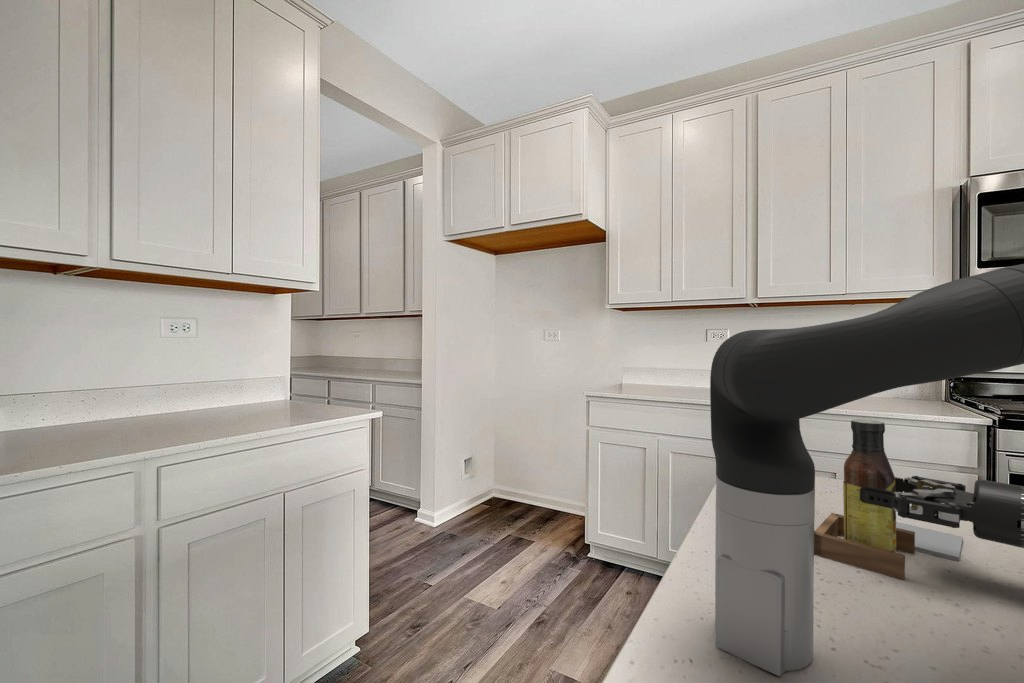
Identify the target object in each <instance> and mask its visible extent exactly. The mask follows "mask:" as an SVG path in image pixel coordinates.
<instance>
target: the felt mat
mask: <svg viewBox="0 0 1024 683" xmlns="http://www.w3.org/2000/svg"><path fill="white" fill-rule="evenodd" d="M896 528H900V529H904V530H908V531H913V532H915V552H919V553H924V554H927V555H932V556H936V557H939V558H944V559H947V560H951V561H955V562H960V557H961V553H962V547H963V539H964V536H961V535H956V534H952V533H948V532H945V531H944V532H943V531H940V530H939V531H938V530H935V529H930V528H926V527H921V526H917V525H912V524H907V523H905V522H904V523H903V522H900V521H899V522H897V521H896Z"/></svg>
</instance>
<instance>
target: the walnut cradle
mask: <svg viewBox="0 0 1024 683" xmlns="http://www.w3.org/2000/svg"><path fill="white" fill-rule="evenodd" d="M838 536H841V537H844V514H840V513H838V514H837V513H835V512H831V513H830V514H829V515H828V516H827V517H826V518H825V519H824V520H823V521H822V523H821V524H820V525H819V526H818V527H817V528H816V529H814V556H815V555H816V556H819V557H823V558H826V559H829V560H833V561H837V562H840V563H842V564H847V565H849V566H854V567H857V568H860V569H864V570H868V571H871V572H874V573H878V574H881V575H885V576H889V577H891V578H895V579H898V580H901V581H904V580H905V578H906V554H907V553H908V554H911V555H914V554H915V552H916V551H915V532H913V531H908V530H904V529H900V528H896V549H895V552H892V551H888V550H884V549H880V548H877V547H873V546H869V545H865V544H861V543H857V542H854V541H850V540H846V539H844V538H841V537H838ZM896 551H899V552H896ZM900 552H903V553H905V554H903V553H900Z"/></svg>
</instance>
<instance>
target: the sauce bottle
mask: <svg viewBox="0 0 1024 683" xmlns="http://www.w3.org/2000/svg"><path fill="white" fill-rule="evenodd" d="M850 428H851V431H852V444H851V447H852V451H851V453H850V454H849V455H848V456H847V458H846V459H845V461H844V464H843V481H842V485H843V486H842V487H843V488H842V491H843V494H842V495H843V496H842V497H843V502H842V503H843V516H844V536H843V539H846V540H850V541H854V542H857V543H861V544H865V545H869V546H873V547H877V548H880V549H884V550H888V551H892V552H896V550H895V549H896V522H897V512H896V511H894V508H893V509H892V508H887V507H882V506H878V505H873V504H868V503H864V502H862V501H861V500H860V488H861V487H862V486H867V487H872V488H878V489H883V490H888V491H893V492H895V490H896V489H895V477H896V476H895V474H894V472H893V469H892V466H891V463H890V461H889V459H888V456H887V453H886V451H885V446H884V444H885V443H884V441H885V440H884V434H885V431H886V424H885V422H884V421H880V420H873V419H863V418H861V419H860V418H859V419H852V420H851V421H850Z"/></svg>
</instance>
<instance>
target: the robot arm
mask: <svg viewBox="0 0 1024 683" xmlns="http://www.w3.org/2000/svg"><path fill="white" fill-rule="evenodd" d="M1020 365H1024V263H1021V264H1017V265H1016V264H1015V265H1011V266H1006V267H1001V268H995V269H994V270H990V271H986V272H982V273H977V274H975V275H971V276H966V277H963V278H958V279H954V280H951V281H949V282H946V283H943V284H939V285H936V286H933V287H930V288H928V289H926V290H922V291H921V292H918V293H916V294H913V295H911V296H910V297H907V298H905V299H904V300H901V301H899V302H897V303H895V304H893V305H891V306H889V307H886V308H885V309H881V310H879V311H877V312H874V313H871V314H867V315H865V316H860V317H855V318H850V319H844V320H840V321H839V320H838V321H834V322H828V323H823V324H817V325H810V326H801V327H795V328H794V327H793V328H777V329H776V328H774V329H749V330H744V331H741V332H738V333H735V334H732V335H731V336H729V337H728V338H727V339H726V340H724V341H723V342H722V343H721V344H720V345H719V347H718V348H717V349H716V352H715V354H714V356H713V358H712V362H711V369H710V375H709V376H710V378H709V379H710V380H709V383H710V384H709V385H710V386H709V393H710V395H709V398H710V399H709V400H710V401H709V402H710V433H711V435H710V436H711V445H712V448H713V453H714V459H715V474H716V475H715V542H714V543H715V547H714V548H715V550H714V551H715V554H714V555H715V556H714V557H715V563H714V564H715V568H714V570H715V571H714V572H715V574H714V585H715V586H714V590H715V591H714V592H715V593H714V602H715V603H714V604H715V606H714V607H715V608H714V614H715V615H714V628H715V629H714V631H715V647H717V648H718V649H721V650H723V651H725V652H727V653H728V654H731V655H733V656H736V657H737V658H739V659H742V660H744V661H746V662H747V663H750V664H752V665H755V666H756V667H758V668H761V669H762V670H765V671H767V672H769V673H771V674H773V675H775V676H778V677H781V676H782V674H784V672H788V671H798V670H802V669H804V668H806V667H807V666H809V665H810V664H811V662H812V661H813V660H814V623H815V622H814V619H815V618H814V610H815V609H814V604H815V603H814V600H815V599H814V596H815V595H814V594H815V593H814V592H815V591H814V590H815V589H814V588H815V585H814V584H815V569H814V568H815V554H814V531H815V516H816V515H815V514H816V513H815V512H816V508H815V504H816V503H815V502H816V489H815V488H816V486H815V485H816V468H815V463H814V460H813V458H812V456H811V455H810V453H809V451H808V449H807V447H806V445H805V442H804V440H803V437H802V433H801V426H800V424H801V423H800V419H803V418H806V417H810V416H813V415H815V414H818V413H823V412H824V411H828V410H830V409H834V408H837V407H840V406H843V405H845V404H848V403H852V402H854V401H857V400H862V399H864V398H866V397H870V396H874V395H876V394H879V393H883V392H887V391H891V390H894V389H895V390H896V389H897V388H904V387H909V386H915V385H922V384H928V383H934V382H935V383H936V382H940V381H941V382H942V381H947V380H951V379H956V378H961V377H967V376H971V375H977V374H983V373H988V372H993V371H998V370H999V371H1000V370H1002V369H1006V368H1010V367H1012V368H1013V367H1016V366H1020ZM895 489H896V490H895V492H893V491H888V490H883V489H878V488H872V487H867V486H862V487H861V488H860V500H861V501H862V502H864V503H868V504H873V505H878V506H882V507H887V508H892V509H893V508H894V511H896V513H897V516H898V517H900V518H903V519H904V518H905V519H910V520H914V521H921V522H924V523H928V524H929V523H930V524H934V525H940V526H943V527H948V528H952V529H959V528H960V524H961V523H960V522H961V521H964V522H969V523H972V527H973V528H972V530H973V534H974V536H975V537H976V538H977V539H981V540H985V541H989V542H995V543H999V544H1004V545H1007V546H1012V547H1016V548H1020V549H1024V486H1023V485H1018V484H1013V483H1012V484H1011V483H1005V482H999V481H994V480H993V481H991V480H986V479H977V480H975V482H974V487H973V493H972V492H969V491H966V485H964V484H962V483H956V482H950V481H944V480H939V479H933V478H928V477H923V476H919V475H912V476H911V477H904V478H901V477H897V476H895ZM910 505H911V506H910Z"/></svg>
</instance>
